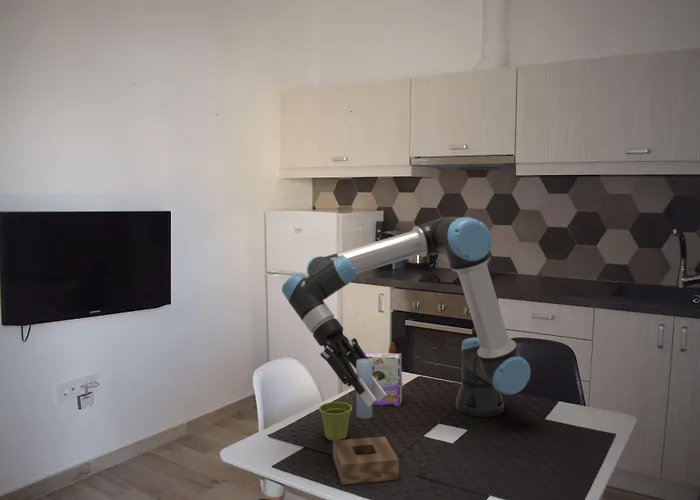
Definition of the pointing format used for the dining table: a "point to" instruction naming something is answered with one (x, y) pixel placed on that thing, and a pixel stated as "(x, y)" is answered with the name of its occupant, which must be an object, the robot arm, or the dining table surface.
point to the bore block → (365, 460)
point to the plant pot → (335, 419)
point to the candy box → (388, 376)
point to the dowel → (366, 373)
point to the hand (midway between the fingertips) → (377, 400)
